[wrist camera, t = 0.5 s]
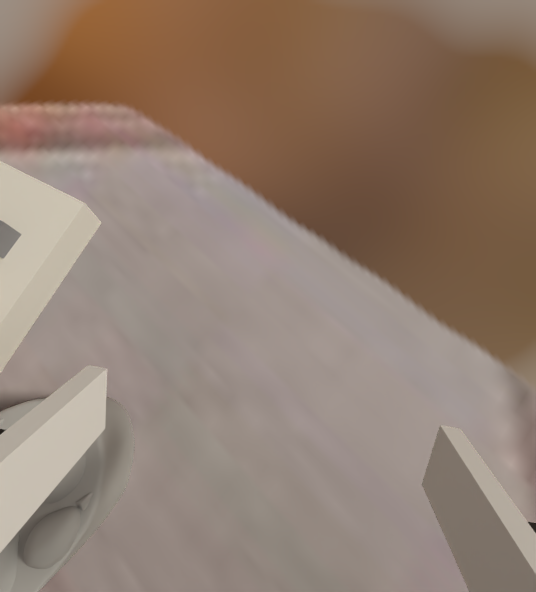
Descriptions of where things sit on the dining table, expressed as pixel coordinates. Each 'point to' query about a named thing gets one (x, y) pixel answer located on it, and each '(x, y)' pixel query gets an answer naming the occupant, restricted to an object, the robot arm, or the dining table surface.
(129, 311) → the dining table surface
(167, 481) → the dining table surface
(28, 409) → the lumpy-topped squat cylinder
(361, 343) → the dining table surface
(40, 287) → the panel
